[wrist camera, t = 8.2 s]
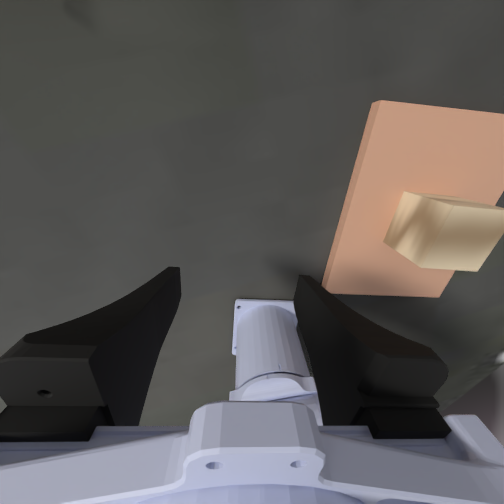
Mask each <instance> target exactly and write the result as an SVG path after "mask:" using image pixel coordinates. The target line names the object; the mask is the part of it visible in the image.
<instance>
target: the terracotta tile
mask: <svg viewBox="0 0 504 504" xmlns="http://www.w3.org/2000/svg"><path fill="white" fill-rule="evenodd" d="M404 191H407V192H417V193H427V194H437V195H447V196H456V197H460V198H464V199H468V200H472V201H476V202H480V203H484V204H489V205H493V206H495V204H496V203H497V201H498V199H499V198H500V196H501V194H502V193H503V191H504V114H499V113H490V112H481V111H472V110H463V109H454V108H446V107H437V106H428V105H419V104H410V103H401V102H393V101H384V100H380V101H377V102H374V103H372V105H371V109H370V113H369V116H368V120H367V123H366V127H365V130H364V134H363V138H362V141H361V145H360V148H359V152H358V155H357V159H356V163H355V166H354V170H353V173H352V177H351V180H350V184H349V188H348V191H347V195H346V198H345V202H344V206H343V209H342V213H341V216H340V220H339V223H338V227H337V231H336V234H335V238H334V241H333V245H332V248H331V252H330V256H329V259H328V263H327V266H326V270H325V273H324V277H323V281H322V284H321V286H322V287H324V288H325V289H326V290H327V291H328V292H330V293H331V294H358V295H385V296H413V297H439V296H440V295H441V293H442V292H443V290H444V288H445V287H446V285H447V283H448V282H449V280H450V278H451V277H452V275H453V273H454V272H455V270H447V269H432V268H420V267H419V266H417V265H416V264H414V263H413V262H412V261H410V260H409V259H407V258H406V257H404V256H403V255H401V254H400V253H398V252H397V251H396V250H394V249H393V248H391V247H390V246H388V245H387V244H385V243H384V242H383V240H384V238H385V236H386V233H387V231H388V228H389V226H390V224H391V221H392V219H393V216H394V214H395V212H396V209H397V207H398V204H399V202H400V199H401V197H402V195H403V192H404Z"/></svg>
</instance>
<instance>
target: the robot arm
mask: <svg viewBox="0 0 504 504" xmlns="http://www.w3.org/2000/svg"><path fill="white" fill-rule="evenodd" d="M180 298H181V281H180V267H168V268H166V269H165V270H164V271H162V272H161V273H159V274H158V275H157V276H155V277H154V278H153V279H151V280H150V281H148V282H147V283H145V284H144V285H142V286H141V287H139V288H138V289H136V290H135V291H133V292H131V293H130V294H128V295H126V296H125V297H123V298H121V299H119V300H117V301H115V302H113V303H111V304H109V305H107V306H105V307H103V308H100V309H98V310H96V311H94V312H91V313H89V314H87V315H84V316H82V317H79V318H76V319H74V320H71V321H68V322H65V323H62V324H59V325H56V326H53V327H50V328H46V329H43V330H40V331H36V332H33V333H29V334H26V335H25V336H24V337H23V338H22V339H20V340H19V341H18V342H17V343H16V344H15V345H14V346H13V347H11V348H10V349H9V350H8V351H7V352H6V353H5V354H4V355H2V356H1V357H0V396H1V398H2V399H3V400H4V402H5V403H6V405H7V407H6V408H5V409H4V410H3V411H2V412H1V414H0V504H504V447H503V446H502V444H501V443H500V442H499V441H498V440H497V439H496V438H495V436H494V435H493V434H492V433H491V432H490V431H489V429H488V428H487V427H486V426H485V425H484V424H483V423H482V421H481V420H480V419H479V418H478V417H477V416H476V415H473V414H451V415H446V416H443V417H442V416H441V415H440V413H439V412H438V411H437V409H436V408H438V407H439V404H438V402H437V401H436V400H435V398H434V397H433V395H434V394H435V393H436V392H437V391H438V389H439V388H440V387H441V386H442V385H443V384H444V382H445V381H446V379H447V377H448V372H449V371H448V367H447V365H446V364H445V363H444V362H443V361H442V360H441V359H440V358H439V357H438V355H437V354H436V353H435V352H434V351H433V350H432V349H431V348H429V347H427V346H424V345H422V344H419V343H417V342H414V341H411V340H409V339H406V338H404V337H402V336H400V335H398V334H395V333H393V332H391V331H389V330H387V329H385V328H383V327H381V326H379V325H377V324H375V323H374V322H372V321H370V320H368V319H366V318H365V317H363V316H361V315H360V314H358V313H357V312H355V311H354V310H352V309H351V308H349V307H348V306H346V305H345V304H344V303H342V302H341V301H340V300H338V299H337V298H336V297H334V296H333V295H332V294H331V293H330V292H328V291H327V290H326V289H325V288H324V287H322V286H321V285H320V284H319V283H318V282H317V281H315V280H314V279H313V278H312V277H310V276H307V275H299V279H298V283H297V287H296V291H295V295H294V299H293V301H286V300H256V299H237V300H236V301H235V311H234V328H233V346H232V354H233V355H236V390H234V391H230V397H229V401H217V402H210V403H207V404H205V405H203V406H202V407H200V408H198V409H197V410H195V412H194V414H193V416H192V418H191V421H190V426H138V425H139V421H140V418H141V414H142V410H143V406H144V403H145V399H146V395H147V392H148V388H149V385H150V381H151V378H152V375H153V371H154V368H155V365H156V362H157V359H158V355H159V352H160V350H161V347H162V344H163V342H164V340H165V337H166V335H167V333H168V330H169V328H170V326H171V324H172V321H173V319H174V317H175V314H176V312H177V309H178V306H179V302H180ZM238 306H240V307H238ZM297 322H298V324H299V327H300V330H301V332H302V335H303V338H304V341H305V344H306V347H307V350H308V353H309V357H310V361H311V366H312V370H313V374H314V378H313V377H310V374H309V371H308V368H307V364H306V361H305V358H304V354H303V351H302V347H301V344H300V341H299V337H298V334H297V331H296V326H297ZM314 379H315V381H314Z"/></svg>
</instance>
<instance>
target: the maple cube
mask: <svg viewBox="0 0 504 504" xmlns="http://www.w3.org/2000/svg"><path fill="white" fill-rule="evenodd" d="M503 233H504V208H501V207H497V206H493V205H489V204H484V203H480V202H476V201H472V200H468V199H464V198H460V197H456V196H447V195H437V194H427V193H417V192H407V191H404V192H403V195H402V197H401V199H400V202H399V204H398V207H397V209H396V212H395V214H394V216H393V219H392V221H391V224H390V226H389V228H388V231H387V233H386V236H385V238H384V240H383V242H384V243H385V244H387V245H388V246H390V247H391V248H393V249H394V250H396V251H397V252H398V253H400V254H401V255H403V256H404V257H406V258H407V259H409V260H410V261H412V262H413V263H414V264H416V265H417V266H419V267H420V268H432V269H447V270H463V271H478V270H479V268H480V267H481V265H482V264H483V262H484V261H485V260H486V258H487V257H488V255H489V254H490V252H491V251H492V249H493V248H494V246H495V245H496V243H497V242H498V241H499V239H500V238H501V236H502V235H503Z"/></svg>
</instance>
